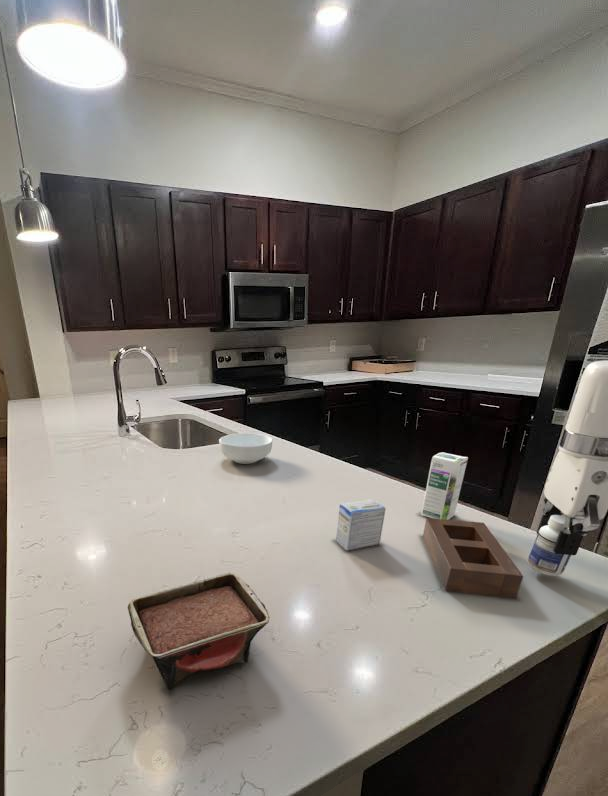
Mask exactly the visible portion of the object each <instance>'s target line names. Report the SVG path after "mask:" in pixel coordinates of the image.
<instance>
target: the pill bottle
mask: <svg viewBox="0 0 608 796" xmlns="http://www.w3.org/2000/svg"><path fill="white" fill-rule="evenodd" d="M565 516H566V515H552V516H551V517H550V519H549V521H548V525H546V526H543V527H541V528H540V530H539V532H538V534H536V537H535V540H534V543H533V546H532V547H531V549H530V552H529V555H528V558H527V560H526V563H527V565H528V566H529V567H530V568H531V569H532V570H533V571H536V572H538V573H540V574H542V575H547V576H553V577H557V576H561V575H563V574H564V571H565V570H566V568H567V566H568V563H569V560H570V559H571V556H572V555H565V554H556V553H555V552H554V551H553V549H554V547H555V544H556V541H557V538H558V535H559V533H560V531H564V524H565ZM577 523H579V521H578V520H577V519H573V524H572V526H573V525H575V524H577Z"/></svg>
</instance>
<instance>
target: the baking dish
mask: <svg viewBox="0 0 608 796" xmlns="http://www.w3.org/2000/svg"><path fill="white" fill-rule="evenodd" d="M127 611H128V615H129V618H130V626H131V629H132V631H133V634H134V636H135V638H136V639H137V640H138V642H139V644H140V645H141V646H142V648H143V650H144V651H145V652H146V653H147V654H148V655H150V656H151V657H152V659H153V661H154V664H155V665H156V668H157V669H158V671H159V673H160V675H161V678H162V679H163V682H164V684H165V686H166V688H167V690H169V691H171V690H172V688H173V687H175V686H176V685H177V684H178V683H179V682H180V681H182V680H183V679H185V678H187V677H189V676H190V675H192V674H194V673H196V672H197V671H204V672H205V671H211V670H218V669H220V668H223V667H227V666H230V665H232V664H237V663H242V664H243V663H244V664H248V662H249V656H250V650H251V643H252V641H253V639H254V638H255V637H256V635H257V634H258V633H259V632H260V631H262V629H263V628H264V627H265V626H266V625H268V624H269V622H270V615H269V611H268V609H267V608H266V606H265V604H264V602H262V601H261V600H260V598H259V597H258V595H257V593H255V592H254V590H253V589H252V588H250V585H248V584H247V583H246V582H245V581H244V580H243V579H242V578H241V577H240V576H238V575H237V574H235V573H234V572H227V573H221V574H218V575H216V576H212V577H209V578H208V577H207V578H204V579H202V580H197V581H194V582H189V583H186V584H184V585H179V586H176V587H172V588H168V589H165V590H162V591H157V592H153V593H150V594H146V595H143V596H138V597H136V598H133V599H132V600H131V601H130V602H129V603H128V605H127Z"/></svg>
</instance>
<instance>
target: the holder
mask: <svg viewBox="0 0 608 796" xmlns="http://www.w3.org/2000/svg"><path fill="white" fill-rule="evenodd" d="M423 528H424V529H423V533H422V539H423V541H424V544H425V546H426V548H427V551H428V553H429V555H430V558H431V560H432V562H433V565H434V567H435V570H436V572H437V574H438V577H439V579H440V581H441V584H442V587H443V588H444V590H445V591H448V592H455V593H465V594H474V595H483V596H490V597H500V598H505V599H506V598H507V599H514V600H515V599H517V597H518V593H519V591H520V587H521V586H522V585H521V584H522V581H523V578H524V575H523V574H522V572H521V571H520V569H519V568H518V566H517V565H516V564H515V563H514V561H513V560H512V559H511V557H510V556H509V555H508V553H507V552H506V551H505V549H504V548H503V546H502V545H501V544H500V542H499V541H498V540H497V538H496V537H495V536H494V534H493V533H492V532H491V531H490V529H489V528H488V526H487V525H486V524H485V522H480V521H466V520H457V519H449V520H445V519H433V518H429V517H427V518H425V523H424V527H423Z"/></svg>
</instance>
